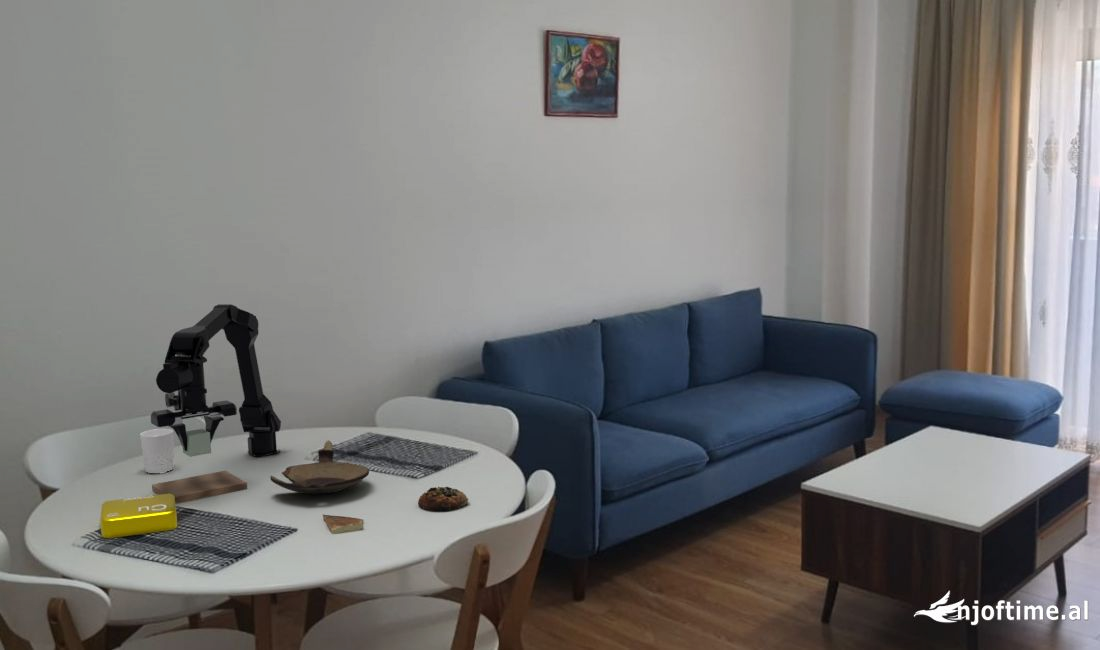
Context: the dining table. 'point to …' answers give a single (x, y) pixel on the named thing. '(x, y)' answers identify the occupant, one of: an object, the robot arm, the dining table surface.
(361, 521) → the shard
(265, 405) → the robot arm
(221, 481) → the walnut board
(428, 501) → the bread roll
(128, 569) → the dining table surface
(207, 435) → the sage cube
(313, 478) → the oil lamp
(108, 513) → the element tile
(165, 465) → the white cup
